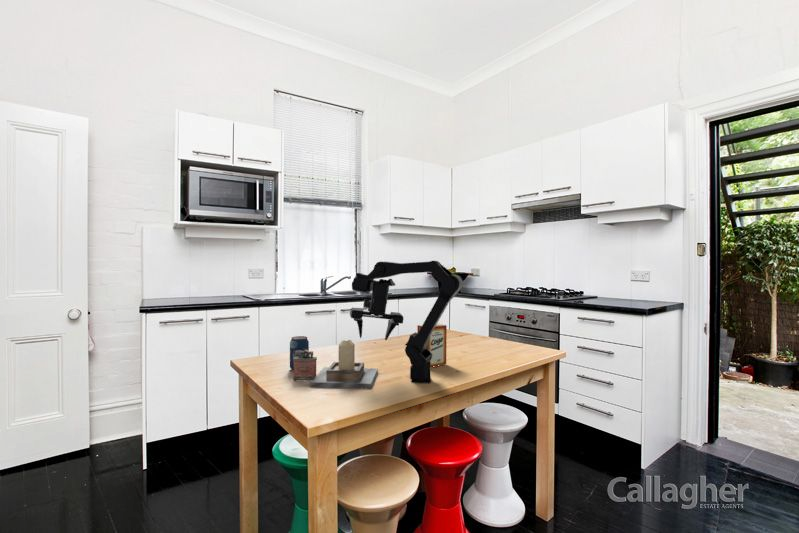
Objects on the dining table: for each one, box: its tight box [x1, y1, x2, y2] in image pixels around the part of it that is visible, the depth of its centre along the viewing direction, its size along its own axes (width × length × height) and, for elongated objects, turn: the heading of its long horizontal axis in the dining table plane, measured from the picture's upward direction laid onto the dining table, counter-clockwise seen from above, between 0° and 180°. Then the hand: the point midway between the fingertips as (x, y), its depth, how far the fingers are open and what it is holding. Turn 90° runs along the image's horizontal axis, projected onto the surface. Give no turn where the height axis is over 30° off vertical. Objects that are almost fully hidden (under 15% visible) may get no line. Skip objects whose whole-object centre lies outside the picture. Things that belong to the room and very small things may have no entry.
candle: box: [338, 339, 356, 370], centre depth 137 cm, size 6×6×10 cm
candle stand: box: [309, 361, 379, 389], centre depth 137 cm, size 20×18×4 cm
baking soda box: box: [416, 323, 448, 368], centre depth 157 cm, size 10×6×16 cm
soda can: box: [289, 335, 310, 372], centre depth 149 cm, size 7×7×12 cm
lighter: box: [292, 350, 318, 381], centre depth 137 cm, size 8×3×10 cm, turn 92°
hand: (373, 338), depth 142 cm, fingers open, 9 cm apart
